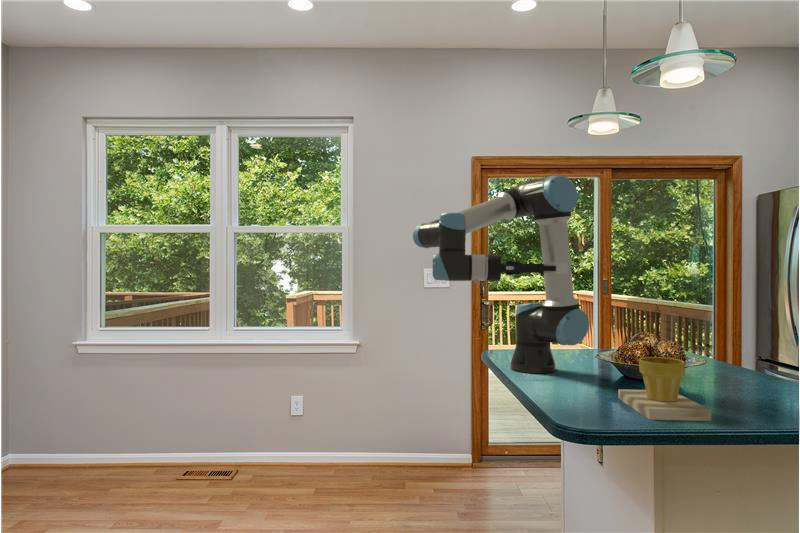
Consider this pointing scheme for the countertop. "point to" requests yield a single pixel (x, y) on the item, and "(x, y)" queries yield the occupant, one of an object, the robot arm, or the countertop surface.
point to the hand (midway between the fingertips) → (561, 268)
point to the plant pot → (662, 377)
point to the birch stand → (664, 407)
